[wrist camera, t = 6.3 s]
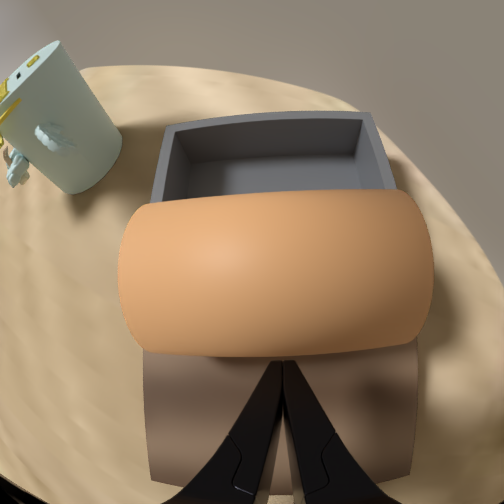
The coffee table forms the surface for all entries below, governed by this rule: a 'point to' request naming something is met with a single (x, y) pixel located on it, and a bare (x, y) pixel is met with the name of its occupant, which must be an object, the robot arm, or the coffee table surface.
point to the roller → (276, 273)
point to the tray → (271, 155)
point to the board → (239, 391)
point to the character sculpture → (55, 124)
